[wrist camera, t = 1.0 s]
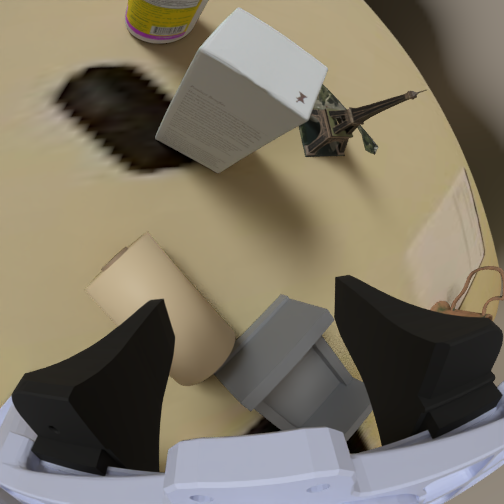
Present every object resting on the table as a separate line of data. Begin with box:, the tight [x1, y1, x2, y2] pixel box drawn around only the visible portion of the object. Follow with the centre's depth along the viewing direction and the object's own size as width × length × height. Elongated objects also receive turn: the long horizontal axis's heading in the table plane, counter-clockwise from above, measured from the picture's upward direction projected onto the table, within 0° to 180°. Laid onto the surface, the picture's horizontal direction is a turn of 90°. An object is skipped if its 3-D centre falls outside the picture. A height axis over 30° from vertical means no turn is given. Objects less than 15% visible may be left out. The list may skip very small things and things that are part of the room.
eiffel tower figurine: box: [299, 84, 426, 157], centre depth 22 cm, size 15×10×13 cm
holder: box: [213, 294, 373, 442], centre depth 24 cm, size 9×14×6 cm, turn 40°
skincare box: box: [155, 8, 328, 173], centre depth 17 cm, size 6×4×12 cm
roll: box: [85, 232, 235, 386], centre depth 19 cm, size 9×6×6 cm, turn 40°
